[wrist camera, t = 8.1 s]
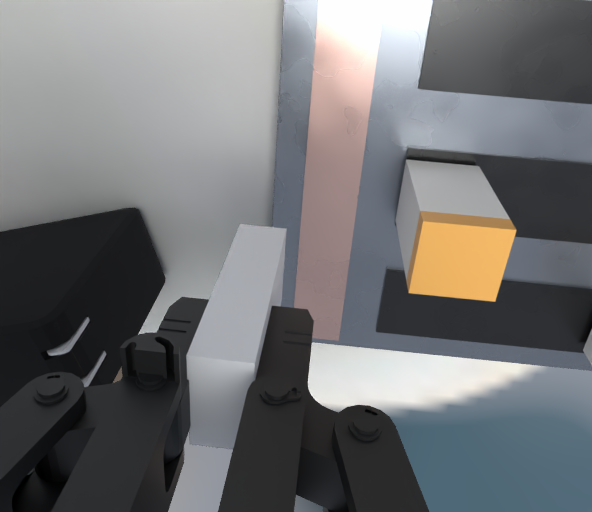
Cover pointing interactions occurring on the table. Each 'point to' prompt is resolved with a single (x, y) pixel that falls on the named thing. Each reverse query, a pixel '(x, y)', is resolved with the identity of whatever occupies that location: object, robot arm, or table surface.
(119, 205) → the table surface
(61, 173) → the table surface
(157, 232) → the table surface
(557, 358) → the panel
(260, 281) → the robot arm
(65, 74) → the table surface
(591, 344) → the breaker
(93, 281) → the electronic device
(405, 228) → the block
